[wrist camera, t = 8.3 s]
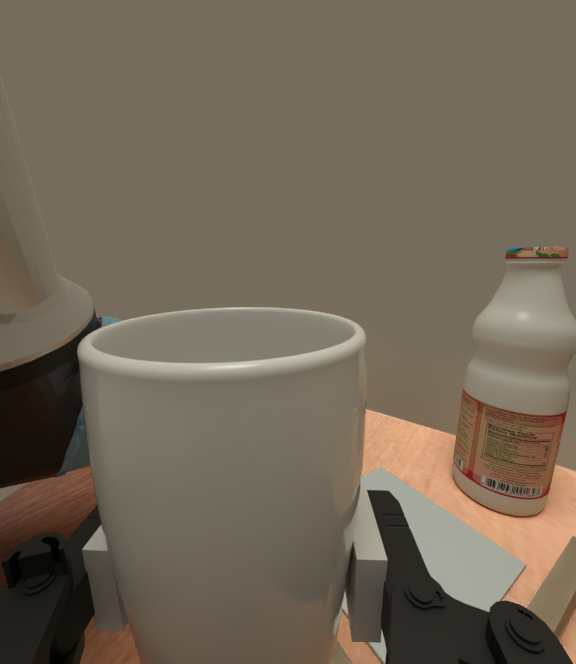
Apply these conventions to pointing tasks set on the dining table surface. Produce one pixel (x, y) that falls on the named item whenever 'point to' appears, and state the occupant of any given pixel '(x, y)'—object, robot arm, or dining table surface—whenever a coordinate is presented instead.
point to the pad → (449, 551)
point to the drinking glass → (228, 477)
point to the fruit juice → (517, 386)
